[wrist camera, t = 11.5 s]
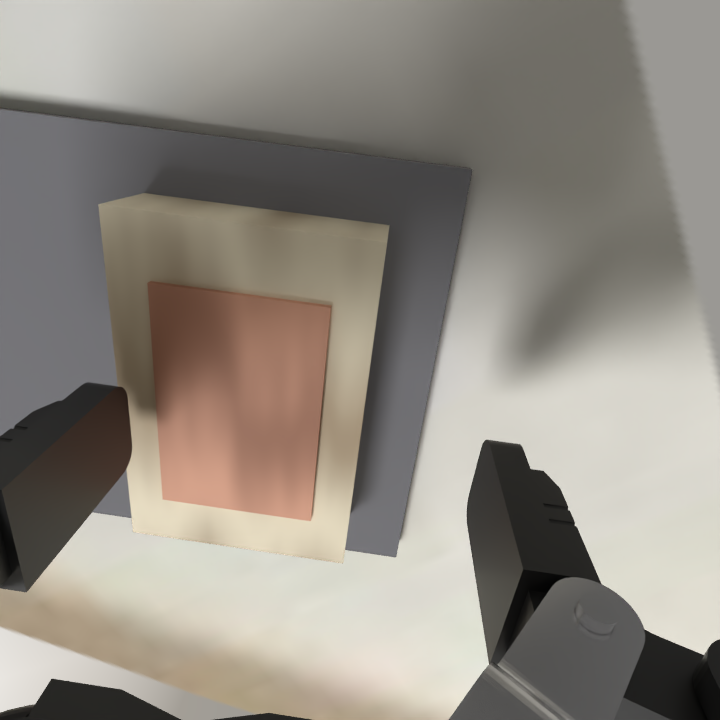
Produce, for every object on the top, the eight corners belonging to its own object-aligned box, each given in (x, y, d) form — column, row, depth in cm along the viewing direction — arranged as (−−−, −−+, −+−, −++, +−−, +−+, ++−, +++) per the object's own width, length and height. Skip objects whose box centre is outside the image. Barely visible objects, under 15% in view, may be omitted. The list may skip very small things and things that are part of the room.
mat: (-172, 459, 17) (-190, 470, 17) (-337, 65, 12) (-371, 61, 12) (396, 543, 17) (395, 557, 16) (469, 168, 12) (472, 170, 11)
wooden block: (93, 205, 10) (386, 243, 10) (144, 192, 12) (389, 225, 12) (130, 535, 14) (342, 567, 14) (163, 486, 16) (350, 513, 16)
